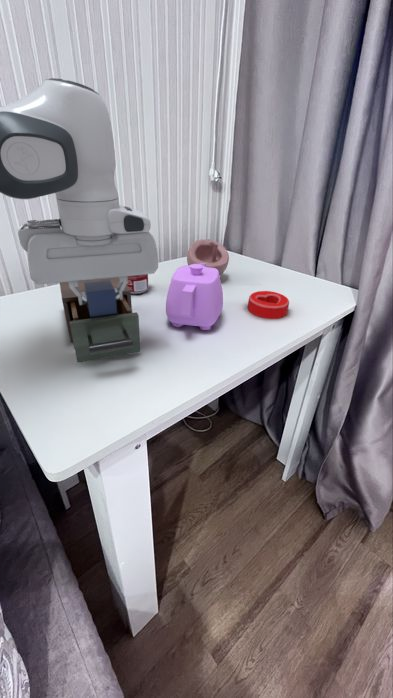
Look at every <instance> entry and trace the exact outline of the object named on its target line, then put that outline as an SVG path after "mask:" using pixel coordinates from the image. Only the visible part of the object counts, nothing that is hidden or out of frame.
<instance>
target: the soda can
mask: <svg viewBox="0 0 393 698" xmlns="http://www.w3.org/2000/svg"><path fill="white" fill-rule="evenodd" d="M127 278H128V282H127V286H128V287H129V289H130V291H131V295H139V294H143V293H145V292H147V291H148V290H149V274H144V275H134V276H127Z"/></svg>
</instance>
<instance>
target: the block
mask: <svg viewBox="0 0 393 698" xmlns="http://www.w3.org/2000/svg"><path fill="white" fill-rule="evenodd" d="M84 287H85V292H86V294H87V301H88V304H87V306H88V310H89V313H90V317H95V316H102V315H109V314H117V307H116V297H115V289H114V287H113V285H112V283H111V281H110V280H107V281H97V282H87V283H84Z"/></svg>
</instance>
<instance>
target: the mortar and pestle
mask: <svg viewBox="0 0 393 698" xmlns="http://www.w3.org/2000/svg"><path fill="white" fill-rule="evenodd" d="M229 261H230V255H229V252H228V250H227V248H226V247H225V246H224V245H223V244H222V243H220V242H218V241H216V240H213V239H210V238H206V239H205V238H204V239H198V240H195V241H194V242H192V243H191V244H190V246H189V248H188V249H187V253H186V264H187V265H191V264H200V263H206V267H210V268H216V269H217V270H218V272H219V276H220V277H221V275H223V274H224V272H225V271H226V270H227V268H228V265H229V263H230V262H229Z"/></svg>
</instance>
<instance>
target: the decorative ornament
mask: <svg viewBox="0 0 393 698" xmlns="http://www.w3.org/2000/svg"><path fill="white" fill-rule="evenodd" d="M247 302H248V303H247V310H248V312H249V313H250V314H252V315H253V316H256V317H258V318H262V319H267V320H268V319H269V320H277V319H282V318H285V317H286V316H287V314H288V311H289V307H290V306H289V305H290V300H289V298H288V297H287V296H285V295H284V294H281V293H279V292H277V291H270V290H260V291H259V290H258V291H254V292H251V294H250V295H249V297H248V301H247Z"/></svg>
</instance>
